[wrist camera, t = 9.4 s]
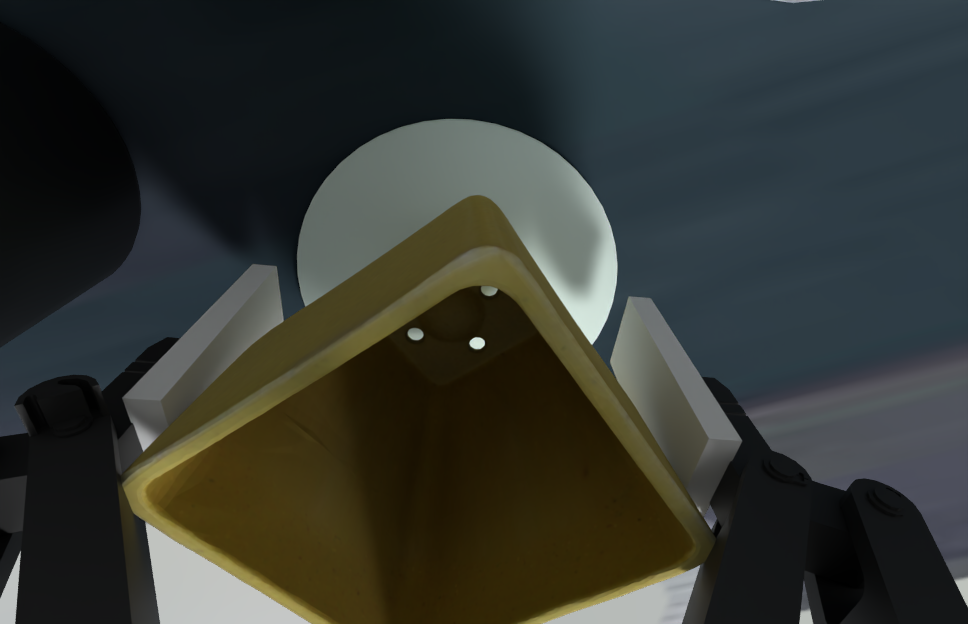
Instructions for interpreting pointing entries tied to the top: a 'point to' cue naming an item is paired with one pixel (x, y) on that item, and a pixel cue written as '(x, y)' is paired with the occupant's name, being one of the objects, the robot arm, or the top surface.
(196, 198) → the top surface
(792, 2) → the bracket
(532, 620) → the flower pot
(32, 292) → the mug
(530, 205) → the pad
